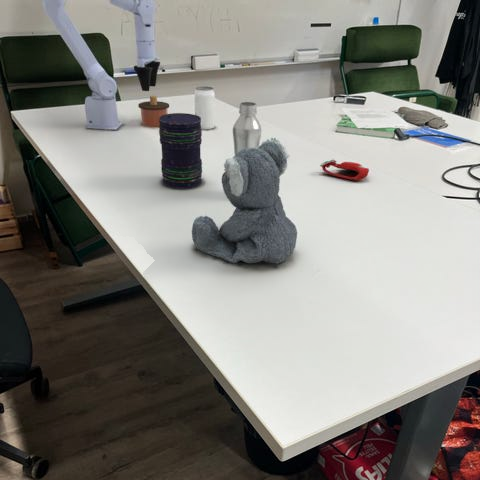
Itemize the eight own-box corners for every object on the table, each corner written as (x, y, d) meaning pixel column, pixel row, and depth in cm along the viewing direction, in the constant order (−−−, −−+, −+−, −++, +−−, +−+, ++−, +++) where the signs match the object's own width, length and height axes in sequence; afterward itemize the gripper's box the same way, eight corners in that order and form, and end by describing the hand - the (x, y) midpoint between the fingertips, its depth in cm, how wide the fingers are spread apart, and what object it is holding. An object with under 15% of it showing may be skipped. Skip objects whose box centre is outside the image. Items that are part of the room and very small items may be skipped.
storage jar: (209, 180, 120) (209, 117, 111) (188, 192, 113) (186, 126, 104) (176, 172, 124) (174, 110, 115) (154, 183, 116) (149, 119, 108)
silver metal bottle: (261, 191, 115) (267, 102, 103) (253, 201, 110) (258, 109, 98) (236, 187, 117) (239, 99, 105) (226, 197, 111) (228, 105, 99)
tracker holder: (354, 163, 131) (378, 165, 123) (350, 179, 132) (374, 183, 124) (318, 156, 126) (341, 158, 117) (315, 174, 127) (337, 177, 119)
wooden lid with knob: (134, 109, 154) (133, 98, 152) (143, 102, 162) (142, 92, 160) (165, 111, 153) (164, 100, 151) (172, 104, 161) (171, 94, 159)
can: (213, 130, 157) (214, 90, 150) (194, 129, 157) (193, 89, 150) (215, 125, 162) (215, 86, 155) (196, 124, 162) (195, 85, 155)
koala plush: (243, 220, 101) (247, 124, 90) (315, 248, 92) (330, 145, 81) (185, 249, 90) (181, 143, 79) (260, 283, 81) (268, 169, 70)
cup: (138, 126, 157) (137, 108, 154) (145, 120, 164) (144, 102, 161) (164, 128, 157) (163, 110, 154) (170, 121, 164) (169, 104, 160)
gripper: (151, 44, 142) (155, 93, 150) (163, 38, 154) (166, 84, 162) (128, 43, 143) (133, 92, 151) (142, 37, 154) (146, 83, 163)
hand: (149, 88), depth 157 cm, fingers open, 7 cm apart
